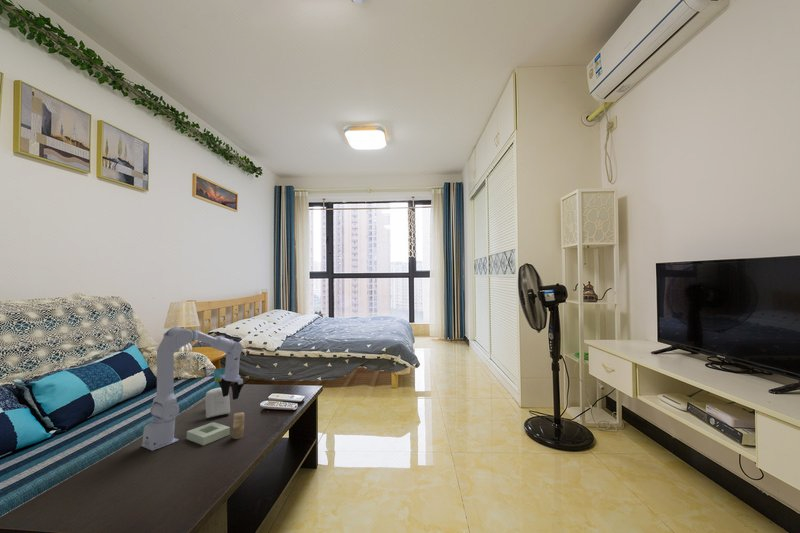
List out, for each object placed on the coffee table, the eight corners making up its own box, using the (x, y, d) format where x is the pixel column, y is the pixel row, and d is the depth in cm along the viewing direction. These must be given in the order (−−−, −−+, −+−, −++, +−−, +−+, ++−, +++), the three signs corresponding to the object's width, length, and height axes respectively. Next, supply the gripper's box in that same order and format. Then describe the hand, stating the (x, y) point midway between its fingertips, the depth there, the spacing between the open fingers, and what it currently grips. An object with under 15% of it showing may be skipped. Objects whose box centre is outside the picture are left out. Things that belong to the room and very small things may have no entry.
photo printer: (228, 413, 159) (226, 386, 163) (231, 412, 157) (229, 385, 160) (204, 418, 152) (203, 391, 156) (207, 417, 149) (206, 389, 153)
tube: (212, 409, 164) (214, 370, 165) (211, 406, 168) (213, 368, 169) (228, 406, 168) (231, 368, 169) (227, 403, 172) (229, 366, 173)
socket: (203, 445, 126) (203, 437, 126) (186, 439, 131) (187, 431, 131) (229, 434, 136) (230, 427, 136) (212, 429, 141) (213, 421, 141)
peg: (236, 439, 132) (238, 416, 132) (230, 437, 134) (231, 414, 134) (245, 435, 135) (246, 413, 136) (239, 433, 137) (240, 411, 138)
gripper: (249, 368, 153) (248, 398, 152) (230, 364, 160) (229, 392, 159) (235, 371, 147) (233, 402, 146) (216, 366, 154) (214, 396, 153)
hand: (230, 397), depth 152 cm, fingers open, 7 cm apart
